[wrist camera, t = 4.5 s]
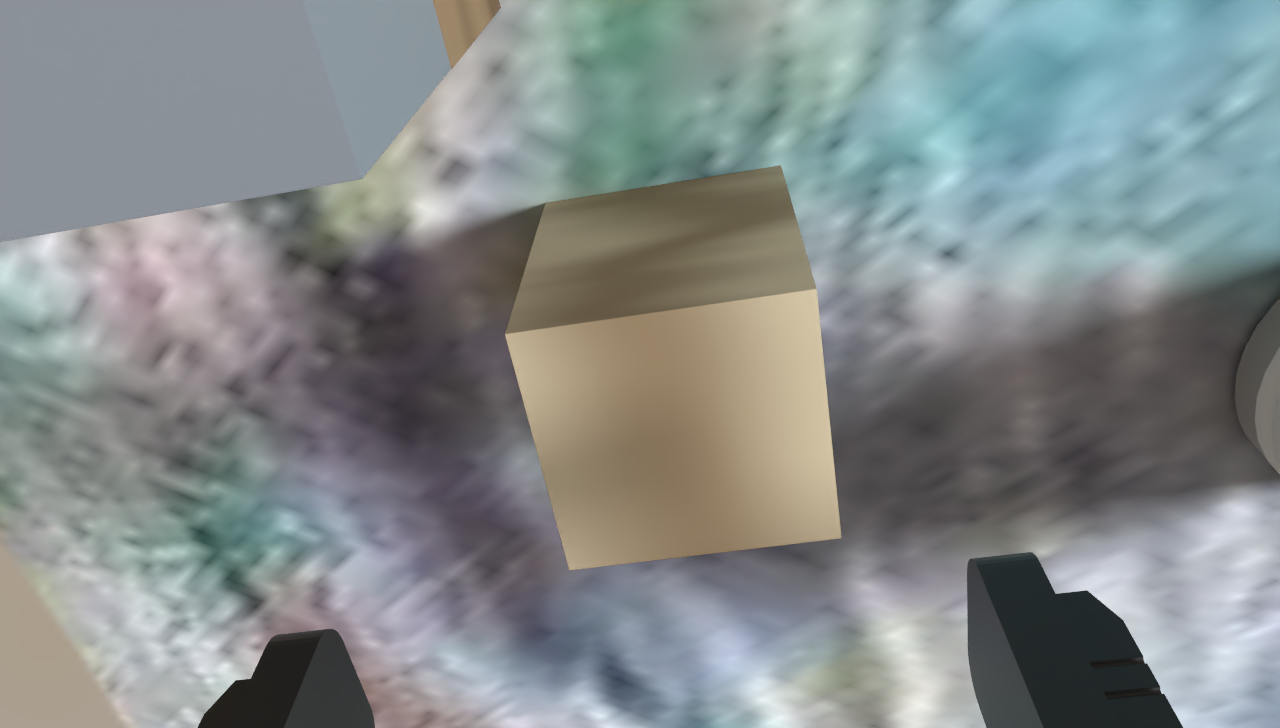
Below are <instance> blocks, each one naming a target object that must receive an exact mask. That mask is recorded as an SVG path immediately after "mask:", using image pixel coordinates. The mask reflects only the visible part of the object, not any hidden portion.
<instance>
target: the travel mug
mask: <svg viewBox="0 0 1280 728" xmlns="http://www.w3.org/2000/svg"><path fill="white" fill-rule="evenodd" d="M1234 400H1235V405H1236V411H1237V417H1238V420H1239V422H1240V424H1241V426H1242V429H1243V431H1244V433H1245V435H1246V437H1247V438H1248V439H1249V440H1250V442H1251V443H1252V444H1253V445H1254V446H1255V447H1256V448H1257V450H1258V451H1259V452H1260V453H1261V454H1262V455H1263V456H1264V457H1265V459H1266V460H1267V461H1268V462H1269V463H1270V464H1271V465H1272V466H1273V468H1274V469H1275V470H1276V471H1277V472H1278V473H1279V474H1280V298H1279V299H1278V300H1277V301H1276V302H1275V303H1274V304H1273V306H1272V307H1271V308H1270V310H1269V311H1268V312H1267V313H1266V315H1265V316H1264V317H1263V318H1262V320H1261V321H1260V322H1259V323H1258V325H1257V326H1256V328H1255V330H1254V332H1253V333H1252V335H1251V337H1250V339H1249V341H1248V343H1247V344H1246V346H1245V348H1244V351H1243V354H1242V357H1241V360H1240V363H1239V367H1238V370H1237V373H1236V382H1235V394H1234Z"/></svg>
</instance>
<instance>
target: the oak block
mask: <svg viewBox="0 0 1280 728" xmlns="http://www.w3.org/2000/svg"><path fill="white" fill-rule="evenodd" d="M505 337H506V340H507V344H508V348H509V351H510V355H511V359H512V362H513V366H514V370H515V373H516V377H517V381H518V384H519V388H520V391H521V395H522V399H523V402H524V406H525V410H526V413H527V417H528V421H529V424H530V428H531V432H532V435H533V439H534V443H535V446H536V450H537V454H538V457H539V461H540V465H541V468H542V472H543V476H544V479H545V483H546V487H547V490H548V494H549V498H550V501H551V505H552V509H553V512H554V516H555V520H556V523H557V527H558V530H559V534H560V538H561V541H562V545H563V549H564V552H565V556H566V560H567V563H568V567H569V570H576V569H585V568H593V567H602V566H610V565H619V564H627V563H636V562H644V561H653V560H661V559H670V558H678V557H687V556H695V555H704V554H712V553H721V552H729V551H738V550H746V549H754V548H763V547H771V546H780V545H788V544H797V543H805V542H814V541H822V540H831V539H839V538H841V528H840V518H839V508H838V498H837V488H836V478H835V468H834V458H833V448H832V438H831V428H830V418H829V408H828V398H827V388H826V378H825V368H824V358H823V348H822V338H821V328H820V318H819V308H818V298H817V289H816V285H815V282H814V278H813V275H812V272H811V268H810V265H809V261H808V258H807V254H806V251H805V247H804V244H803V240H802V237H801V234H800V230H799V227H798V223H797V220H796V216H795V213H794V209H793V206H792V202H791V199H790V196H789V192H788V189H787V185H786V182H785V178H784V175H783V171H782V168H781V166H775V167H769V168H762V169H756V170H750V171H743V172H737V173H731V174H725V175H718V176H712V177H706V178H700V179H693V180H687V181H681V182H674V183H668V184H662V185H656V186H649V187H643V188H637V189H630V190H624V191H618V192H612V193H605V194H599V195H593V196H587V197H580V198H574V199H568V200H561V201H555V202H549V203H545V206H544V209H543V212H542V216H541V219H540V222H539V225H538V229H537V232H536V235H535V238H534V242H533V245H532V248H531V251H530V255H529V258H528V261H527V264H526V268H525V271H524V274H523V277H522V280H521V284H520V287H519V290H518V293H517V297H516V300H515V303H514V306H513V310H512V313H511V316H510V319H509V323H508V326H507V329H506V332H505Z"/></svg>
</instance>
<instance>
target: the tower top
mask: <svg viewBox="0 0 1280 728" xmlns="http://www.w3.org/2000/svg"><path fill="white" fill-rule="evenodd" d="M450 69H451V65H450V62H449V58H448V54H447V51H446V47H445V43H444V40H443V36H442V32H441V29H440V25H439V21H438V18H437V14H436V10H435V7H434V3H433V0H0V242H4V241H9V240H15V239H21V238H27V237H32V236H38V235H44V234H49V233H55V232H61V231H67V230H72V229H78V228H84V227H90V226H95V225H101V224H107V223H113V222H118V221H124V220H130V219H135V218H141V217H147V216H153V215H158V214H164V213H170V212H176V211H181V210H187V209H193V208H199V207H204V206H210V205H216V204H221V203H227V202H233V201H239V200H244V199H250V198H256V197H262V196H267V195H273V194H279V193H285V192H290V191H296V190H302V189H307V188H313V187H319V186H325V185H330V184H336V183H342V182H348V181H353V180H359V179H363V177H364V176H365V175H366V174H367V172H368V171H369V170H370V169H371V167H372V166H373V165H374V164H375V162H376V161H377V160H378V159H379V157H380V156H381V155H382V154H383V153H384V151H385V150H386V149H387V148H388V146H389V145H390V144H391V143H392V141H393V140H394V139H395V138H396V136H397V135H398V134H399V133H400V131H401V130H402V129H403V128H404V126H405V125H406V124H407V123H408V122H409V120H410V119H411V118H412V117H413V115H414V114H415V113H416V112H417V110H418V109H419V108H420V107H421V105H422V104H423V103H424V102H425V100H426V99H427V98H428V97H429V95H430V94H431V93H432V92H433V90H434V89H435V88H436V87H437V86H438V84H439V83H440V82H441V81H442V79H443V78H444V77H445V76H446V74H447V73H448V72H449V71H450Z"/></svg>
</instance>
